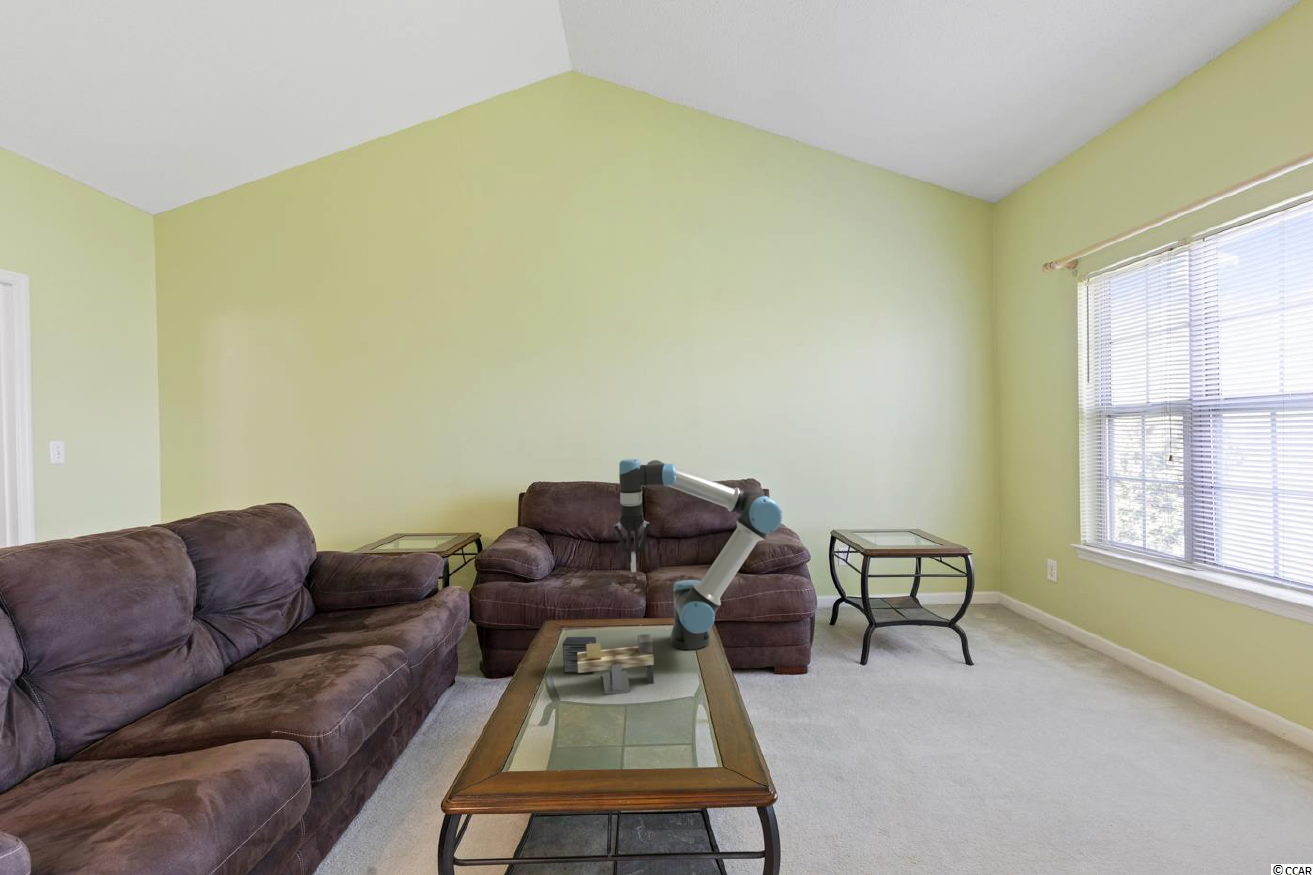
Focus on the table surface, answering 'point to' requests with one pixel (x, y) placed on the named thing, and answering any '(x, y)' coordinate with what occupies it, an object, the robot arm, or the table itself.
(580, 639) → the small box
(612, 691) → the fulcrum
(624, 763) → the table surface
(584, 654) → the beam
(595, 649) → the block
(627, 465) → the robot arm
